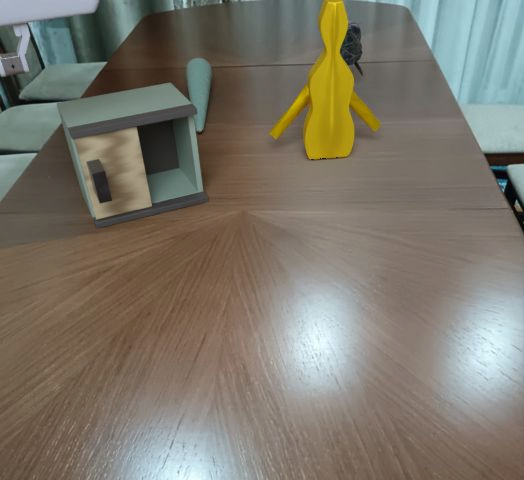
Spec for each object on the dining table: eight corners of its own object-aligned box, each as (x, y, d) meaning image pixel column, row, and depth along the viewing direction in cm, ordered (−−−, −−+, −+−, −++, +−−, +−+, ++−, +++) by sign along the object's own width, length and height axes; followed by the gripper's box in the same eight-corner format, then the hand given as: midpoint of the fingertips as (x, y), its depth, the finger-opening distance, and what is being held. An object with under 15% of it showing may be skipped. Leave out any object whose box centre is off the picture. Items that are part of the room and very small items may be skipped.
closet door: (101, 233, 74) (79, 150, 67) (95, 217, 78) (73, 136, 70) (159, 219, 76) (144, 137, 69) (150, 204, 80) (135, 124, 72)
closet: (96, 228, 77) (70, 132, 69) (81, 192, 86) (56, 103, 77) (208, 201, 81) (196, 108, 73) (183, 169, 90) (170, 82, 81)
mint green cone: (180, 104, 96) (183, 58, 116) (184, 136, 100) (187, 87, 120) (212, 101, 97) (210, 56, 116) (215, 133, 100) (213, 85, 120)
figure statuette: (376, 140, 94) (389, -16, 80) (387, 160, 89) (404, -4, 74) (268, 149, 94) (262, -6, 79) (273, 169, 88) (267, 6, 73)
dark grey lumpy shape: (363, 96, 111) (371, -27, 97) (305, 96, 112) (305, -24, 99) (363, 82, 117) (370, -35, 103) (307, 83, 118) (307, -32, 105)
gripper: (74, -105, 56) (107, 50, 65) (-159, -84, 50) (-87, 82, 60) (85, -102, 51) (119, 64, 61) (-169, -79, 46) (-90, 99, 55)
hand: (15, 73), depth 60 cm, fingers closed
